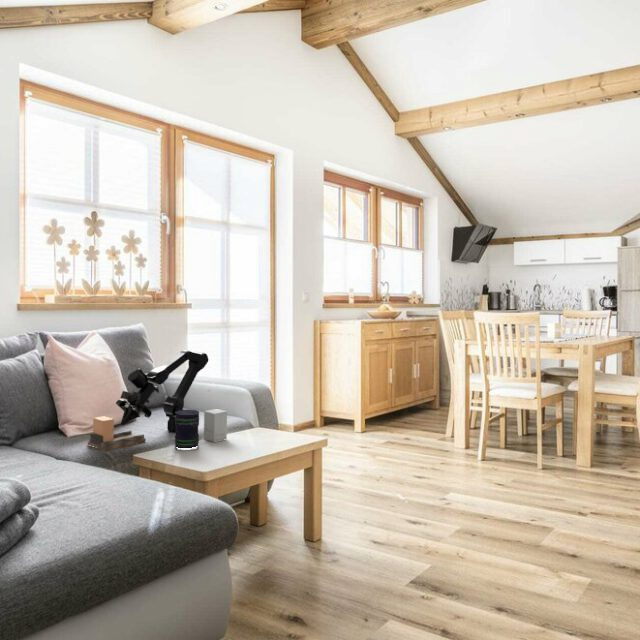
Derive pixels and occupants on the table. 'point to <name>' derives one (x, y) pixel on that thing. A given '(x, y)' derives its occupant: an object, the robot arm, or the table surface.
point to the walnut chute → (115, 440)
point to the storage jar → (186, 428)
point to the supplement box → (215, 425)
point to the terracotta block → (104, 427)
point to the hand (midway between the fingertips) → (121, 424)
